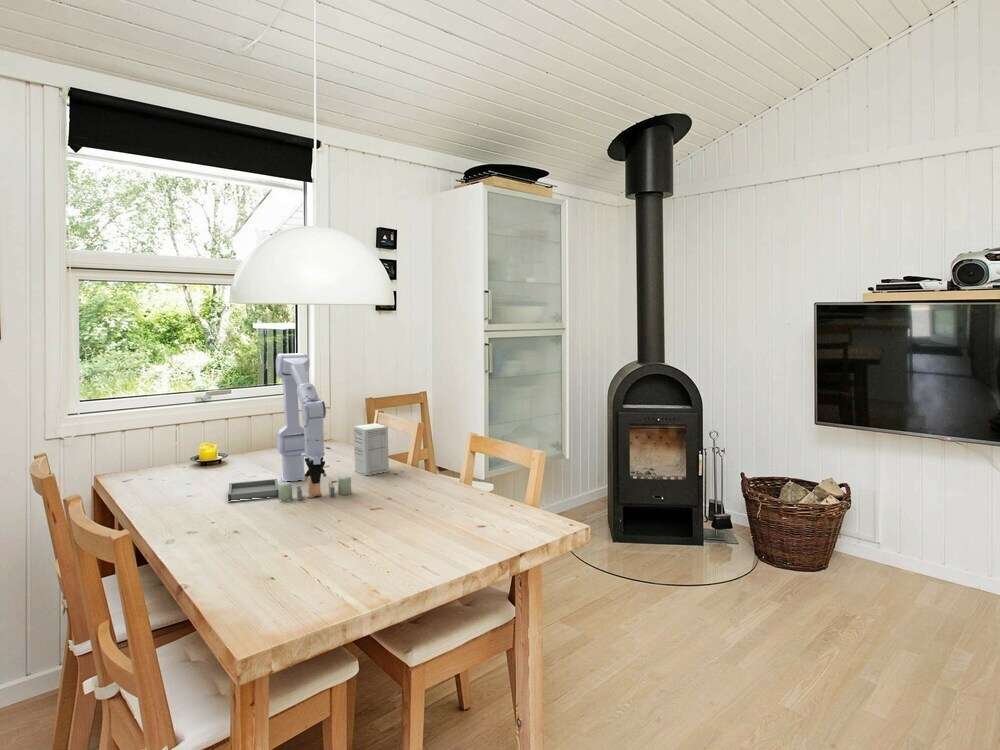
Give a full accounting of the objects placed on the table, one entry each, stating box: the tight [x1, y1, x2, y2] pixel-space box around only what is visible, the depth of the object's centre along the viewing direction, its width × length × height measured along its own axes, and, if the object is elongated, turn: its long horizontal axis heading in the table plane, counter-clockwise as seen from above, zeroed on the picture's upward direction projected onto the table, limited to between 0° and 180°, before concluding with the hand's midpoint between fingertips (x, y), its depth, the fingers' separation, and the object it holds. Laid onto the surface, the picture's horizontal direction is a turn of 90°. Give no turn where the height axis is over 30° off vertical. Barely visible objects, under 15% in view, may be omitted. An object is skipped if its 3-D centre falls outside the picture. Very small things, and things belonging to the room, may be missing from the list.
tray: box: [227, 478, 279, 502], centre depth 196 cm, size 14×15×2 cm
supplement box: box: [353, 422, 390, 476], centre depth 224 cm, size 10×9×17 cm
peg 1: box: [337, 476, 352, 496], centre depth 197 cm, size 4×4×5 cm
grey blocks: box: [296, 482, 336, 501], centre depth 194 cm, size 5×11×3 cm, turn 112°
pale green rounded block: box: [278, 481, 293, 502], centre depth 190 cm, size 4×4×5 cm
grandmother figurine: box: [302, 459, 328, 499], centre depth 193 cm, size 8×4×13 cm, turn 143°
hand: (315, 481), depth 194 cm, fingers closed on grandmother figurine, 3 cm apart
